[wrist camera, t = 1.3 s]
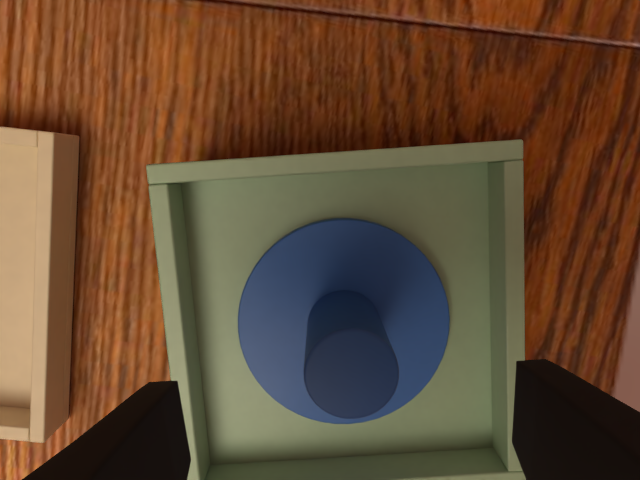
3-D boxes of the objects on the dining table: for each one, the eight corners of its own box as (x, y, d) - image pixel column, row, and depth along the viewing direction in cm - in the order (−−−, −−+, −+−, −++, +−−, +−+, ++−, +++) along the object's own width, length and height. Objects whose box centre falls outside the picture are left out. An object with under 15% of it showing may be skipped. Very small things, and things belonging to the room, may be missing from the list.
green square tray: (474, 407, 22) (526, 488, 16) (218, 423, 22) (184, 509, 16) (468, 147, 20) (524, 139, 15) (192, 165, 20) (145, 164, 15)
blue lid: (448, 409, 17) (494, 495, 13) (249, 422, 17) (224, 512, 13) (442, 210, 16) (489, 226, 12) (231, 224, 16) (197, 245, 12)
